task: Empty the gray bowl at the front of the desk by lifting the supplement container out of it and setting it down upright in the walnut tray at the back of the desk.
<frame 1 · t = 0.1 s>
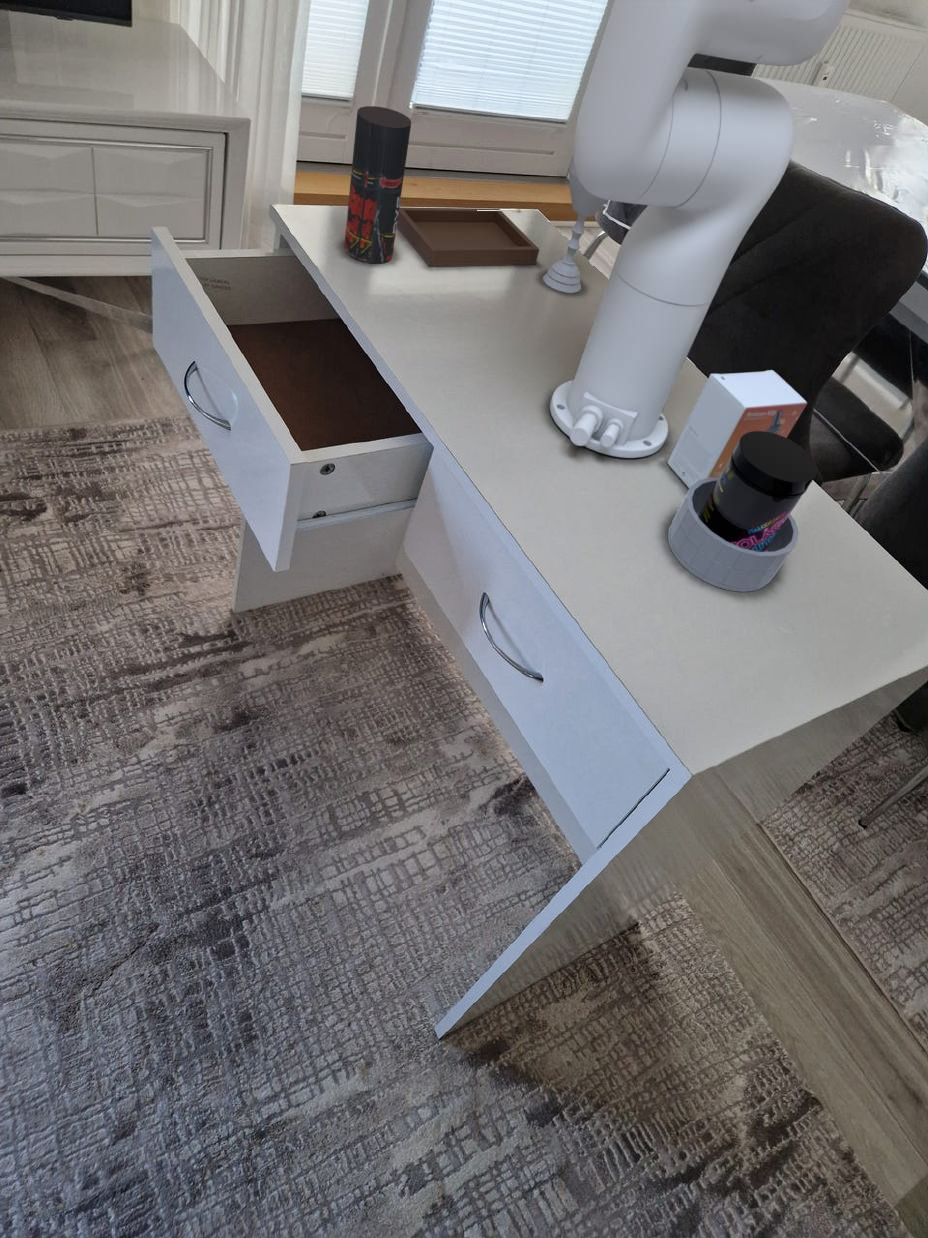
chalice: (561, 284, 105), on the table
walnut tray: (464, 243, 107), on the table
supplement container: (722, 548, 74), resting on gray bowl
small box: (710, 478, 83), on the table
gray bowl: (720, 551, 75), on the table
deodorant: (368, 253, 100), on the table
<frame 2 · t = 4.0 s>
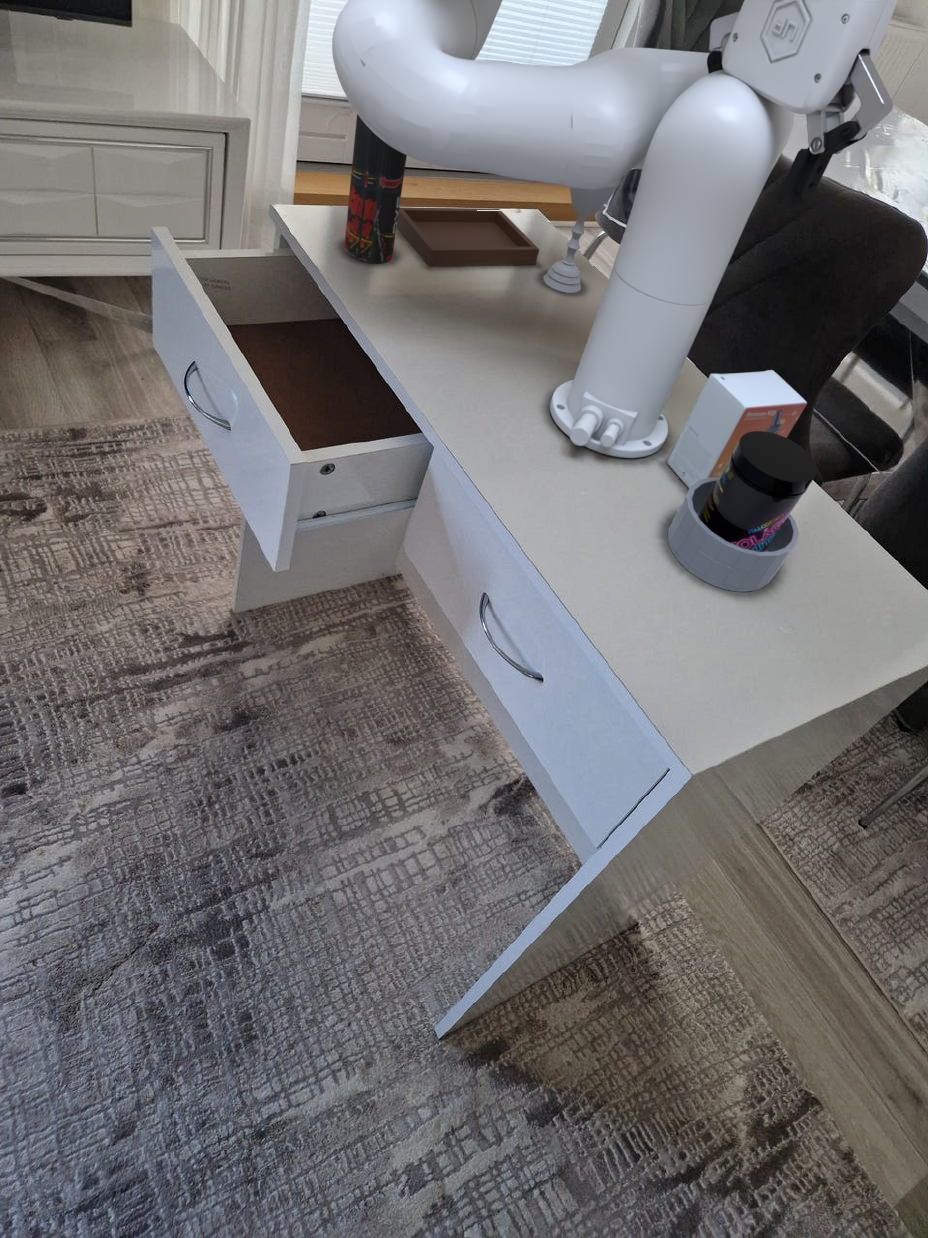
hand: (746, 177, 66), 25 cm above the table, tool pointing down, fingers open, 9 cm apart
nothing on the table moved.
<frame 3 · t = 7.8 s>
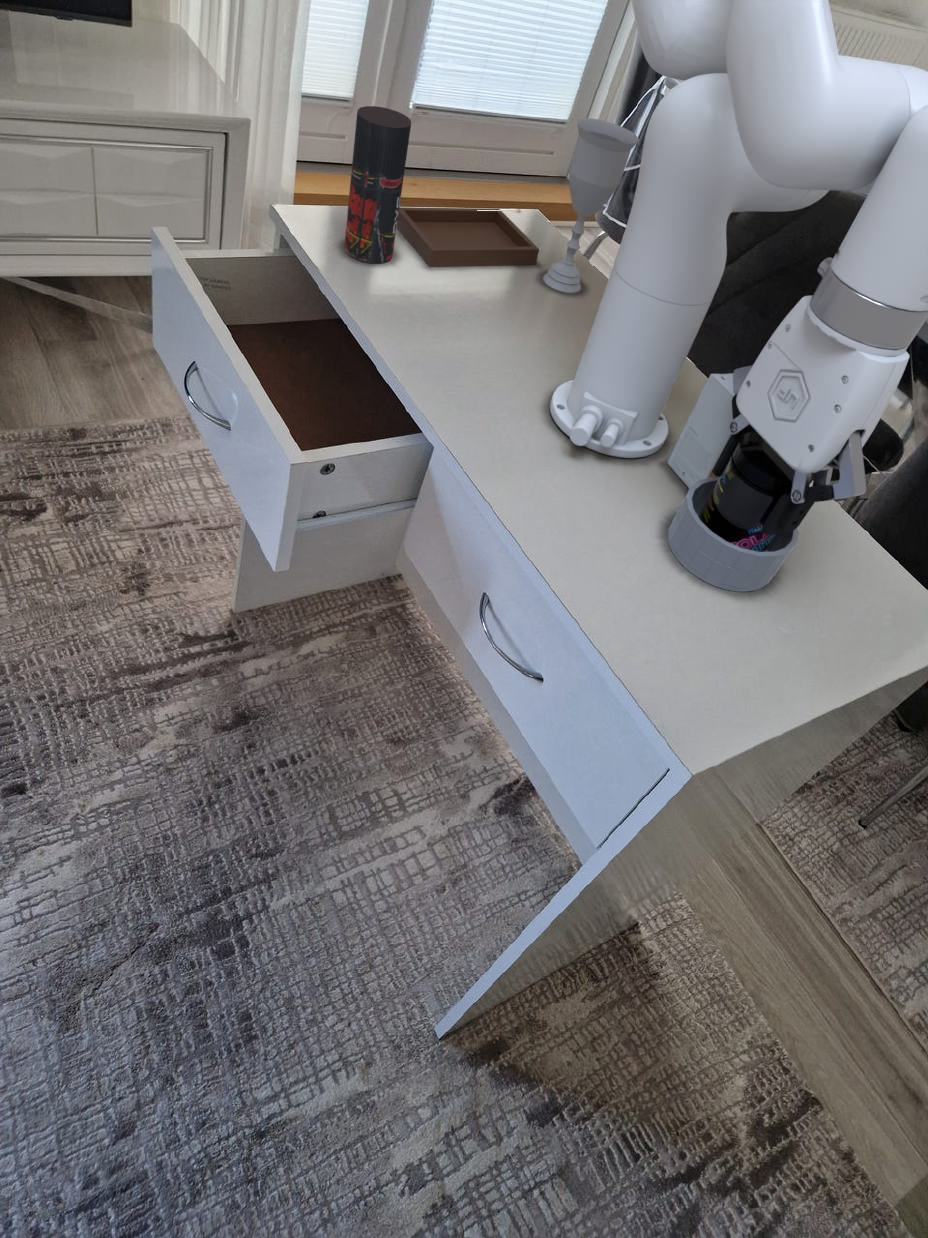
hand: (751, 500, 70), 6 cm above the table, tool pointing down, fingers closed on supplement container, 6 cm apart
supplement container: (722, 548, 74), resting on gray bowl, touching gripper
everything else where it was.
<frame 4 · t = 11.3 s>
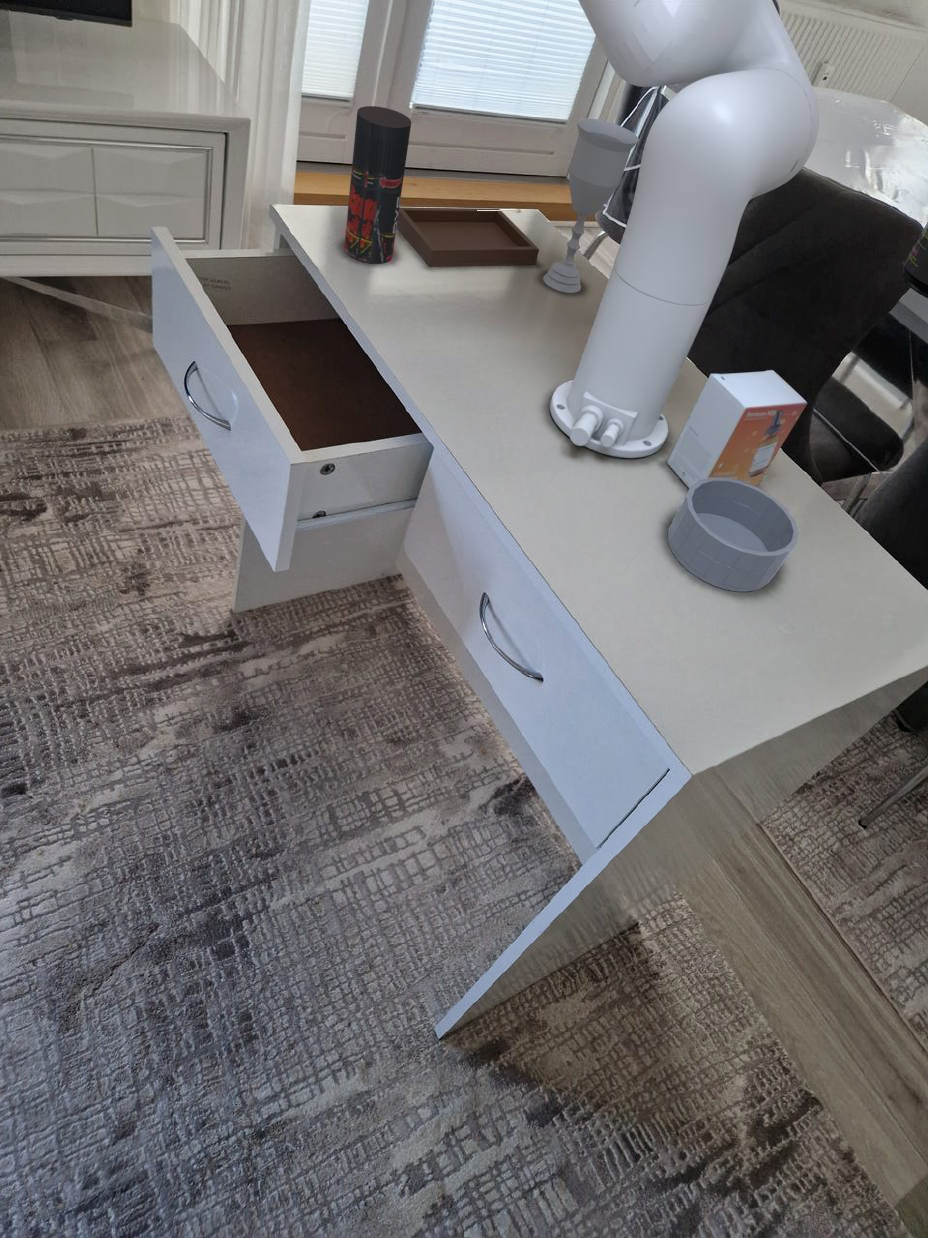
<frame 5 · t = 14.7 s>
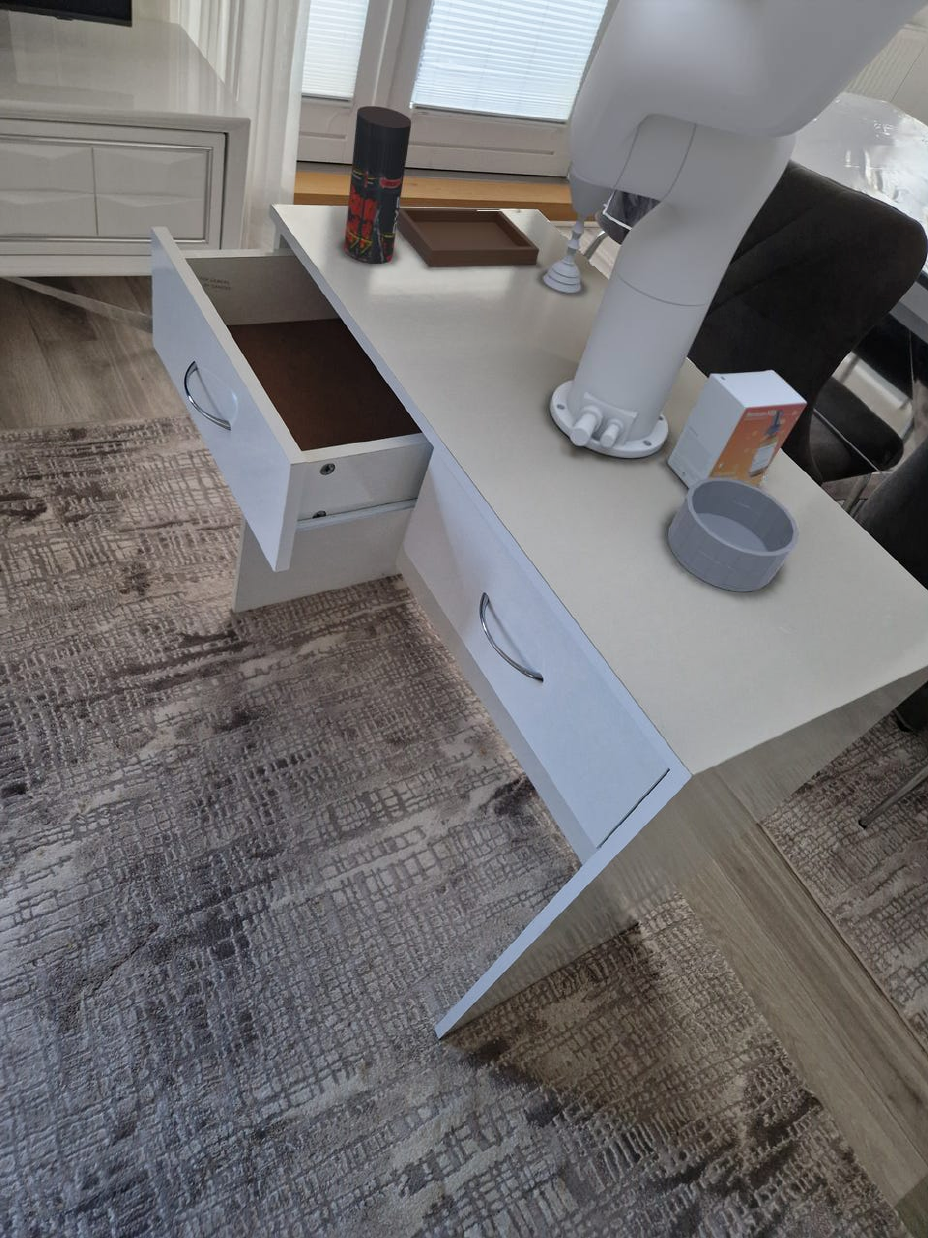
hand: (688, 18, 81), 30 cm above the table, tool pointing down, fingers closed on supplement container, 6 cm apart
supplement container: (667, 84, 85), point 24 cm above the table, touching gripper
everything else where it was.
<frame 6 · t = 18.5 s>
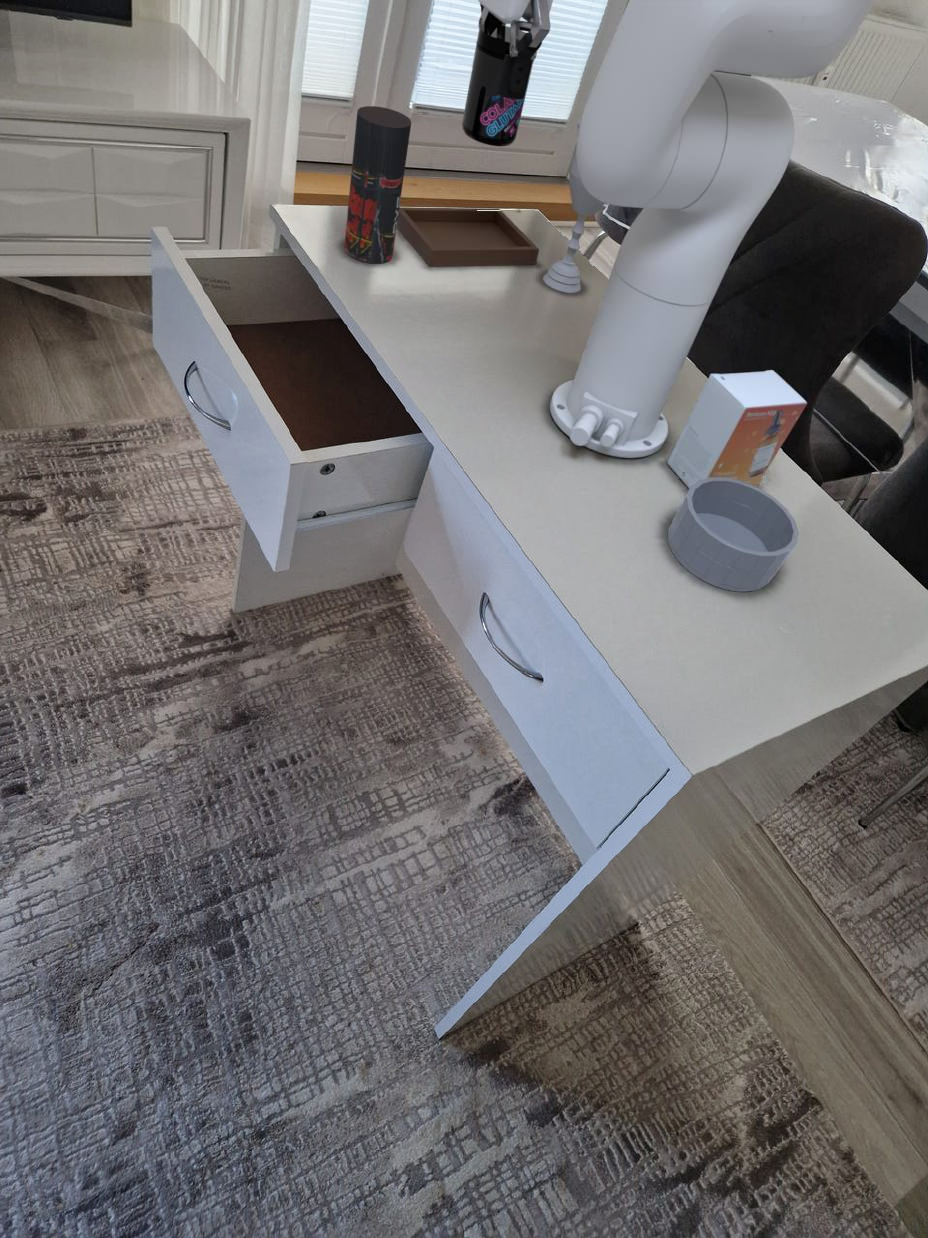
hand: (497, 83, 93), 19 cm above the table, tool pointing down, fingers closed on supplement container, 6 cm apart
supplement container: (487, 138, 98), point 13 cm above the table, touching gripper
everything else where it was.
when the fingers open (6 cm above the table, at t = 21.8 s): supplement container stays where it is, resting on walnut tray.
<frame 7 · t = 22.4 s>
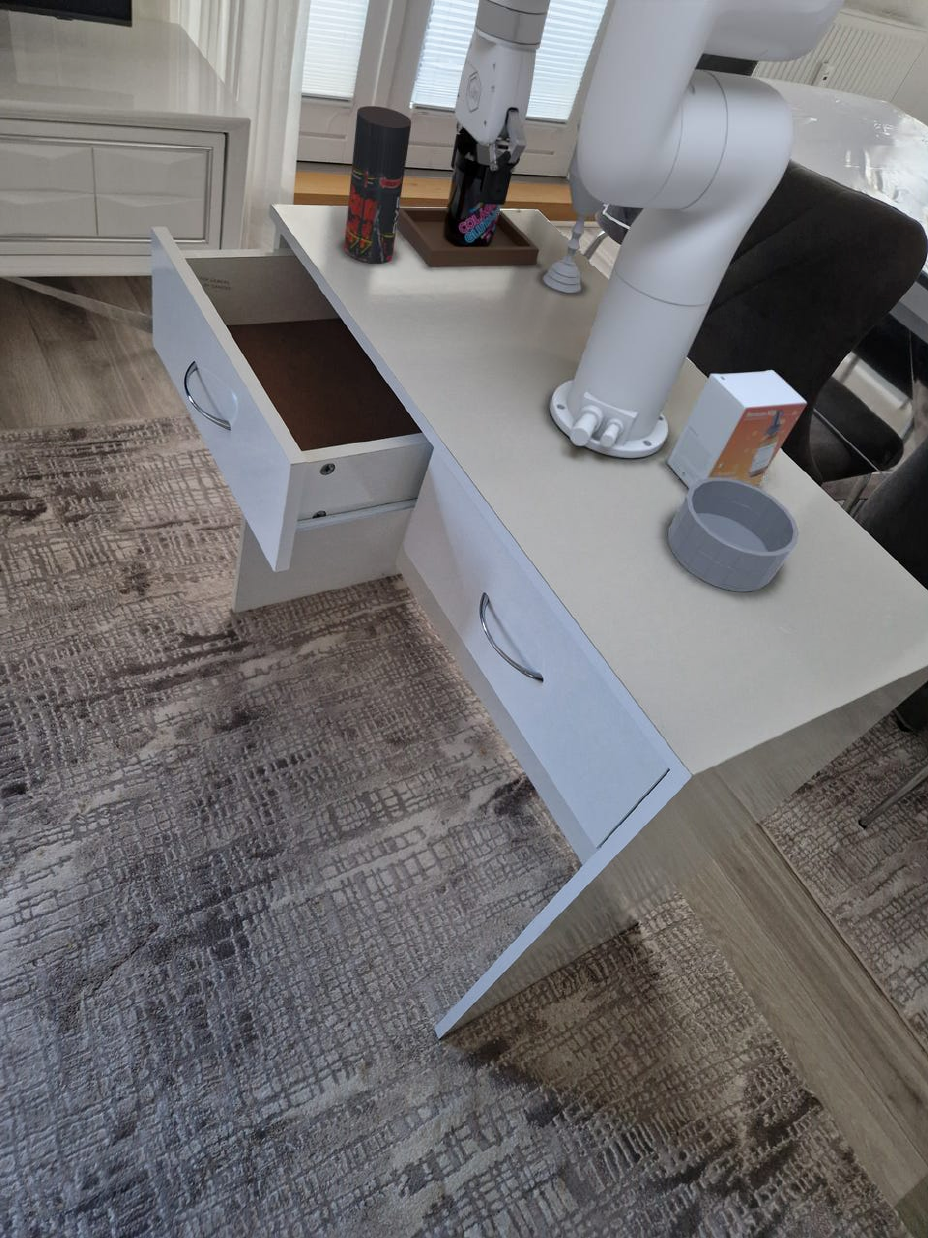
hand: (476, 185, 101), 7 cm above the table, tool pointing down, fingers open, 9 cm apart
supplement container: (466, 240, 107), resting on walnut tray
everything else where it was.
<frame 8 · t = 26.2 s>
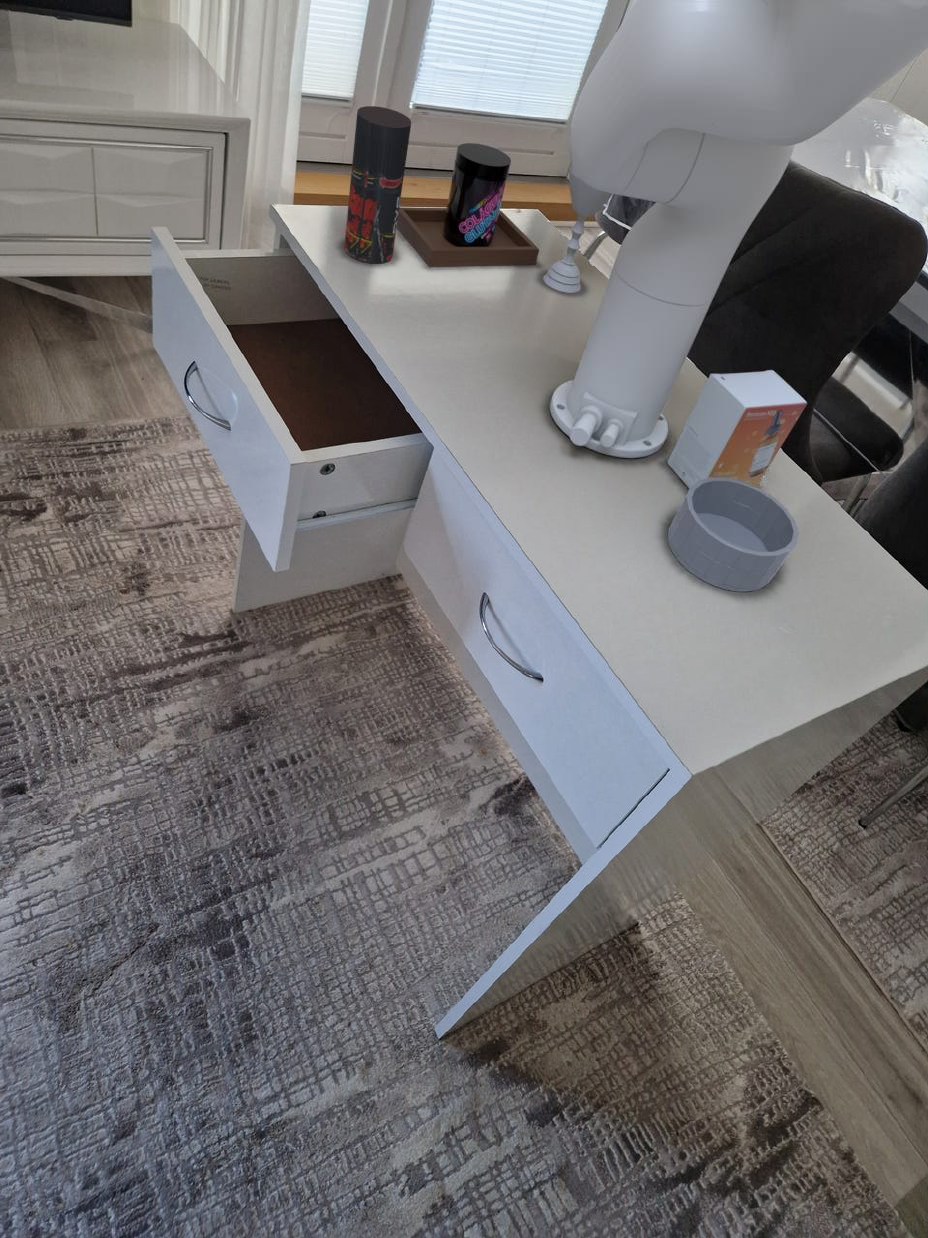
nothing on the table moved.
at the end: supplement container inside the target area in the walnut tray (0.2 cm from its centre), point 0.4 cm above the walnut tray's base; supplement container tilted 0°; supplement container touching walnut tray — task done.
